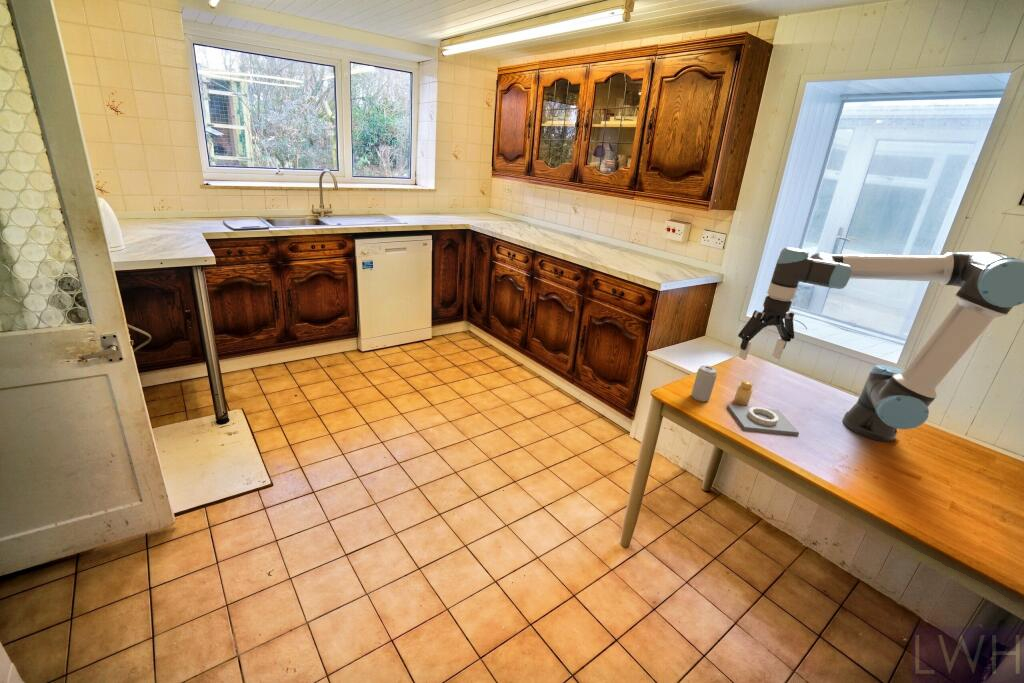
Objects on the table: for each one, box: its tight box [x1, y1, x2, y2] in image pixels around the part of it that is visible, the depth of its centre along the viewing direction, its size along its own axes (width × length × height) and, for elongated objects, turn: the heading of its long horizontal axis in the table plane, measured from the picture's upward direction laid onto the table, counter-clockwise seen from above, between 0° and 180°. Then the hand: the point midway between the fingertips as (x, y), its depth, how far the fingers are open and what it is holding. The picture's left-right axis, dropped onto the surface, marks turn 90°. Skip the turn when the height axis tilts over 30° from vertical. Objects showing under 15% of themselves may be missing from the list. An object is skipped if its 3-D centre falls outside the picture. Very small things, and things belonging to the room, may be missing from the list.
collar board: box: [726, 404, 800, 436], centre depth 161 cm, size 18×14×3 cm
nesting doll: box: [733, 380, 754, 407], centre depth 171 cm, size 5×5×8 cm
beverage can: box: [691, 365, 718, 403], centre depth 170 cm, size 6×6×12 cm
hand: (759, 357), depth 159 cm, fingers open, 13 cm apart
